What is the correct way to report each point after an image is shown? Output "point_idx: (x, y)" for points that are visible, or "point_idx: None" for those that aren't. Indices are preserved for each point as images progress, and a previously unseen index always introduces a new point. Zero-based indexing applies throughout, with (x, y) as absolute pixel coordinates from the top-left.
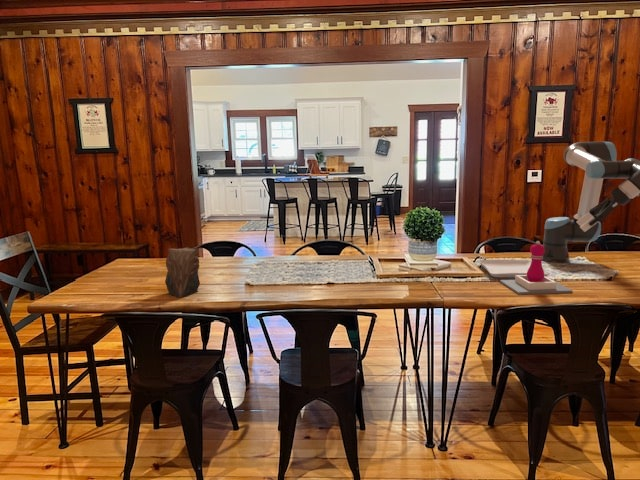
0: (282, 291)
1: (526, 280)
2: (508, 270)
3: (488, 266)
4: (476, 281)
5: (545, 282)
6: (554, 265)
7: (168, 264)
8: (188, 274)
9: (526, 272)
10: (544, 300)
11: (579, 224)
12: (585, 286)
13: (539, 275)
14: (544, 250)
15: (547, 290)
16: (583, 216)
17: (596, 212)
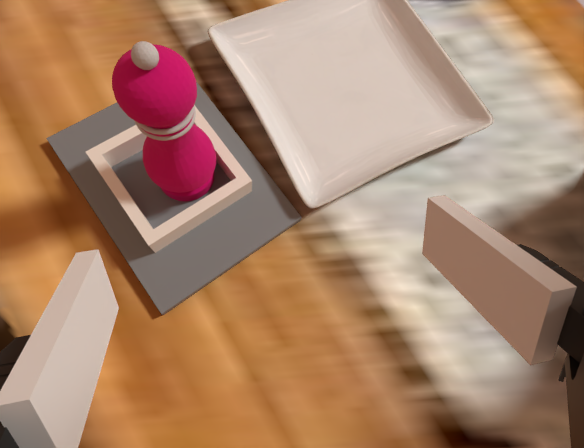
0: None
1: (123, 140)
2: (353, 77)
3: (369, 16)
4: (159, 11)
5: (125, 206)
6: (551, 213)
7: None
8: None
9: (359, 133)
10: (6, 231)
11: (427, 235)
12: (290, 354)
13: (148, 172)
14: (142, 118)
15: (116, 226)
16: (491, 240)
17: (578, 411)
